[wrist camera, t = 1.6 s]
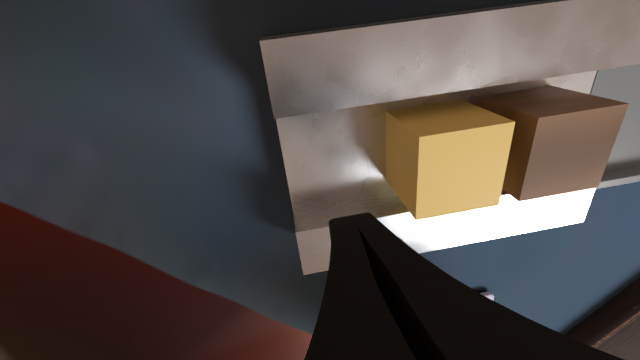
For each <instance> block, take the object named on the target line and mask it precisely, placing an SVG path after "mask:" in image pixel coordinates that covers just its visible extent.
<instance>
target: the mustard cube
mask: <svg viewBox="0 0 640 360" xmlns="http://www.w3.org/2000/svg"><path fill="white" fill-rule="evenodd" d="M514 127H515V121H513V120H510V119H508V118H505V117H503V116H500V115H498V114H495V113H493V112H490V111H488V110H486V109H483V108H481V107H478V106H476V105H473V104H471V103H468V102H466V101H463V100H461V99H460V100H453V101H447V102H440V103H434V104H427V105H421V106H414V107H407V108H401V109H394V110H388V111H386V180H387V182H388V183H389V185H390V186H391V187H392V189H393V190H394V191H395V193H396V194H397V196H398V197H399V198H400V200H401V201H402V202H403V204H404V205H405V207H406V208H407V209H408V211H409V212H410V213H411V215H412V216H413V217H414V219H415V220H420V219H426V218H431V217H437V216H442V215H448V214H453V213H459V212H465V211H470V210H476V209H481V208H487V207H492V206H498V205H499V202H500V197H501V192H502V187H503V182H504V177H505V172H506V167H507V162H508V157H509V152H510V147H511V142H512V137H513V132H514Z"/></svg>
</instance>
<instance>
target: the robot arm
mask: <svg viewBox="0 0 640 360" xmlns="http://www.w3.org/2000/svg"><path fill="white" fill-rule="evenodd" d="M328 223H329V231H330V239H331V251H330V262H329V270H328V275H327V281H326V286H325V291H324V296H323V300H322V304H321V308H320V312H319V316H318V319H317V323H316V326H315V329H314V332H313V335H312V339H311V342H310V345H309V348H308V351H307V354H306V357H305V359H304V360H624V359H622V358H619V357H617V356H614V355H611V354H609V353H606V352H604V351H601V350H598V349H596V348H593V347H591V346H588V345H586V344H584V343H581V342H579V341H577V340H575V339H572V338H570V337H568V336H565V335H563V334H561V333H559V332H556V331H554V330H552V329H549V328H547V327H545V326H543V325H541V324H539V323H537V322H534V321H532V320H530V319H528V318H526V317H524V316H522V315H520V314H518V313H516V312H514V311H512V310H510V309H508V308H506V307H504V306H502V305H500V304H498V303H496V302H495V301H493V300H494V295H493V294H492V293H491V292H483V293H478V292H476V291H475V290H473V289H471V288H470V287H468V286H466V285H465V284H463V283H461V282H460V281H458V280H456V279H455V278H453V277H452V276H450V275H448V274H447V273H445V272H444V271H442V270H441V269H440V268H438V267H437V266H435V265H434V264H432V263H431V262H430V261H428V260H427V259H425V258H424V257H423V256H421V255H420V254H419V253H417V252H416V251H415V250H414V249H412V248H411V247H410V246H409V245H407V244H406V243H405V242H403V241H402V240H401V239H400V238H399V237H397V236H396V235H395V234H394V233H393V232H391V231H390V230H389V229H388V228H387V227H386V226H384V225H383V224H382V223H381V222H380V221H379V220H378V219H377V218H375V217H374V216H373V215H372V214H371V213H369V212H367V213H361V214H355V215H350V216H344V217H339V218H333V219H331V220H330V221H329V222H328Z"/></svg>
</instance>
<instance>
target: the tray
mask: <svg viewBox="0 0 640 360" xmlns="http://www.w3.org/2000/svg"><path fill="white" fill-rule="evenodd" d="M590 95H594V96H599V97H603V98H608V99H612V100H617V101H621V102H625V103H629V105H628V108H627V111H626V114H625V116H624V119H623V122H622V124H621V127H620V130H619V132H618V135H617V138H616V141H615V143H614V146H613V149H612V151H611V154H610V157H609V159H608V162H607V165H606V167H605V170H604V173H603V176H602V178H601V181H600V184H599V186H598V187H597V188H596V189H599V188H605V187H610V186H616V185H621V184H627V183H632V182H638V181H640V64H636V65H629V66H623V67H616V68H609V69H603V70H597V72H596V75H595V78H594V81H593V85H592V88H591V91H590Z"/></svg>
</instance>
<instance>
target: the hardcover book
mask: <svg viewBox="0 0 640 360" xmlns="http://www.w3.org/2000/svg"><path fill="white" fill-rule="evenodd" d="M565 336H568V337H570V338H572V339H575V340H577V341H579V342H581V343H584V344H586V345H588V346H591V347H593V348H596V349H598V350H601V351H604V352H606V353H609V354H611V355H614V356H617V357H619V358H622V359H624V360H640V278H639V279H638V280H636V281H635V282H634V283H633V284H631V285H630V286H629V287H627V288H626V289H625V290H623V291H622V292H621V293H619V294H618V295H617V296H615V297H614V298H613V299H611V300H610V301H609V302H607V303H606V304H605V305H604V306H602V307H601V308H600V309H598V310H597V311H596V312H594V313H593V314H592V315H590V316H589V317H588V318H586V319H585V320H584V321H582V322H581V323H580V324H578V325H577V326H576V327H575V328H573V329H572V330H571V331H569V332H568V333H567V334H565Z"/></svg>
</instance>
